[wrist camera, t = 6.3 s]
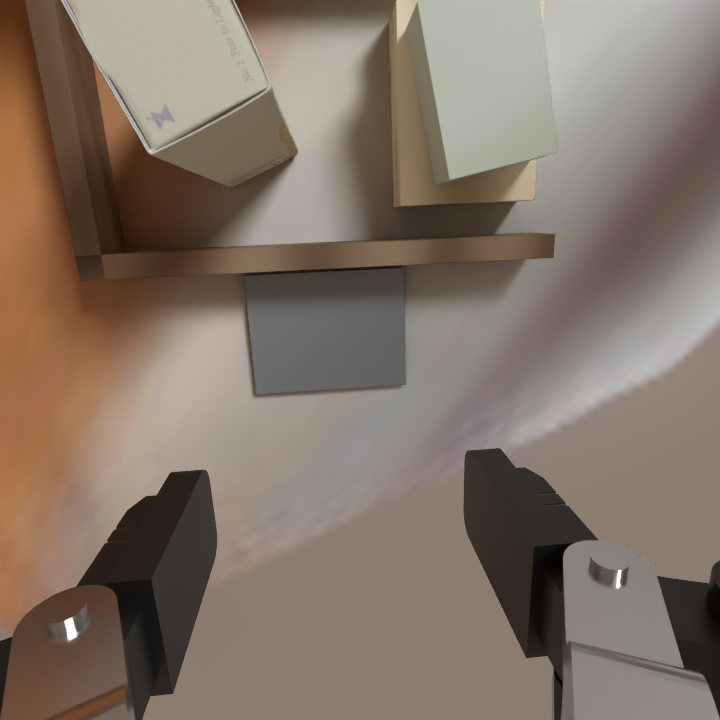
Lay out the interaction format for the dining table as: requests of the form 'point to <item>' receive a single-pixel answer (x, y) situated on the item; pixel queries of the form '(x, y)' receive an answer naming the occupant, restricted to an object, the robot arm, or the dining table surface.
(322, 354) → the felt mat
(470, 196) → the offcut lower
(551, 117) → the offcut upper
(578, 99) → the dining table surface
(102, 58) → the skincare box
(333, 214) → the dining table surface
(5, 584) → the dining table surface
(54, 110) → the rack
